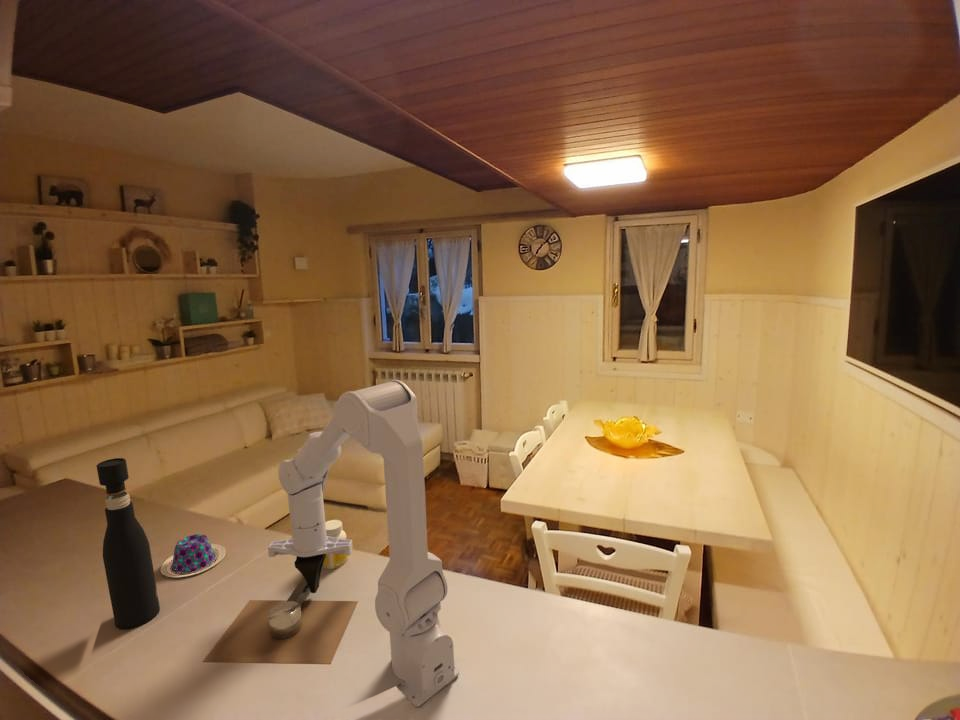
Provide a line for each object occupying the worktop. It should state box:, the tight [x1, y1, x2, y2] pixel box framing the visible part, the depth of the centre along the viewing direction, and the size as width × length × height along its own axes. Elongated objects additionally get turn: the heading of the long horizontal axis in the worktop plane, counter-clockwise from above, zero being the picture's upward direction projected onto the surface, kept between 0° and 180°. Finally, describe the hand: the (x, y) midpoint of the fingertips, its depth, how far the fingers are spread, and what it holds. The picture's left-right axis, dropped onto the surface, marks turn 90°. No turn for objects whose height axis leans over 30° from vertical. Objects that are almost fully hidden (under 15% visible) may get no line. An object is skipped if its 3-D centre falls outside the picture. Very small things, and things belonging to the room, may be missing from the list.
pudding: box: [160, 533, 226, 578], centre depth 102 cm, size 12×12×5 cm
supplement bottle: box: [322, 519, 349, 570], centre depth 98 cm, size 5×5×10 cm
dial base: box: [202, 599, 359, 665], centre depth 80 cm, size 20×14×2 cm
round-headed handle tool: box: [268, 575, 311, 639], centre depth 84 cm, size 15×5×3 cm, turn 176°
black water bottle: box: [96, 457, 161, 631], centre depth 81 cm, size 6×6×30 cm
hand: (314, 589), depth 87 cm, fingers closed
